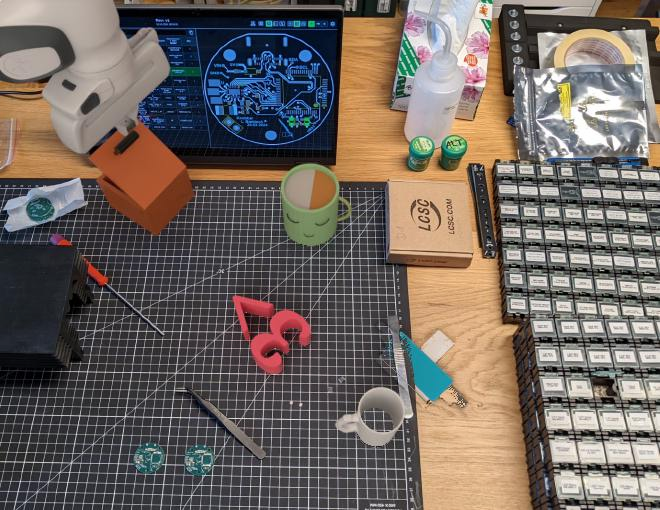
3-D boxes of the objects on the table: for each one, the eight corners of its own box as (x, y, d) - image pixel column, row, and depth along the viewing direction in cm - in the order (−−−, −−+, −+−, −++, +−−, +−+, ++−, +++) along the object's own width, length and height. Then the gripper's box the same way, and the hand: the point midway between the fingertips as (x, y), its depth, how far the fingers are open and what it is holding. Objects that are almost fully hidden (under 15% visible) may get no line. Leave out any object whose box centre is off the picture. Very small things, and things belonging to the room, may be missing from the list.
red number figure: (216, 326, 108) (211, 315, 103) (258, 287, 111) (256, 275, 107) (273, 381, 103) (271, 372, 99) (315, 339, 107) (315, 328, 102)
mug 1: (279, 244, 115) (276, 210, 105) (288, 197, 120) (285, 160, 109) (347, 252, 115) (350, 219, 104) (352, 204, 120) (356, 168, 109)
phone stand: (490, 379, 104) (493, 376, 103) (443, 428, 100) (445, 426, 99) (403, 299, 111) (404, 295, 109) (356, 343, 107) (356, 339, 105)
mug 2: (391, 404, 102) (399, 383, 91) (399, 445, 99) (409, 429, 88) (330, 413, 101) (332, 394, 90) (337, 455, 98) (340, 441, 87)
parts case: (110, 206, 118) (95, 180, 111) (149, 167, 123) (138, 139, 115) (156, 236, 116) (145, 211, 108) (194, 195, 120) (186, 168, 112)
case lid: (87, 158, 104) (92, 152, 100) (133, 116, 108) (139, 108, 104) (143, 210, 108) (150, 206, 104) (185, 167, 112) (193, 161, 108)
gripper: (135, 12, 91) (157, 79, 103) (31, 100, 83) (68, 162, 95) (168, 29, 89) (186, 96, 102) (65, 121, 81) (99, 181, 94)
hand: (128, 128), depth 98 cm, fingers closed
